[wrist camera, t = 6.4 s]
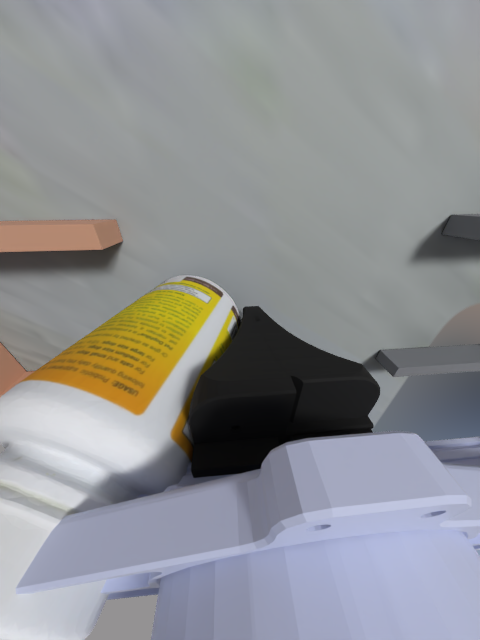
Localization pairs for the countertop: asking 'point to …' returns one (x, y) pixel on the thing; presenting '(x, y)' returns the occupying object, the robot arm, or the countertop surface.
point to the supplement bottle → (101, 437)
